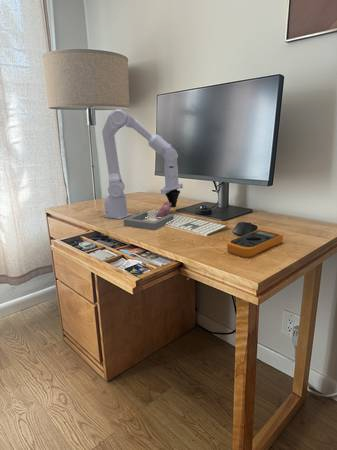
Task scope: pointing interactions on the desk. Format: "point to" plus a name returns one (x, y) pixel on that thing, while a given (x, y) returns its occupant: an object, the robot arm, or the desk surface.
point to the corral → (140, 223)
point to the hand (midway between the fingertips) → (173, 207)
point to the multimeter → (254, 242)
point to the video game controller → (164, 209)
